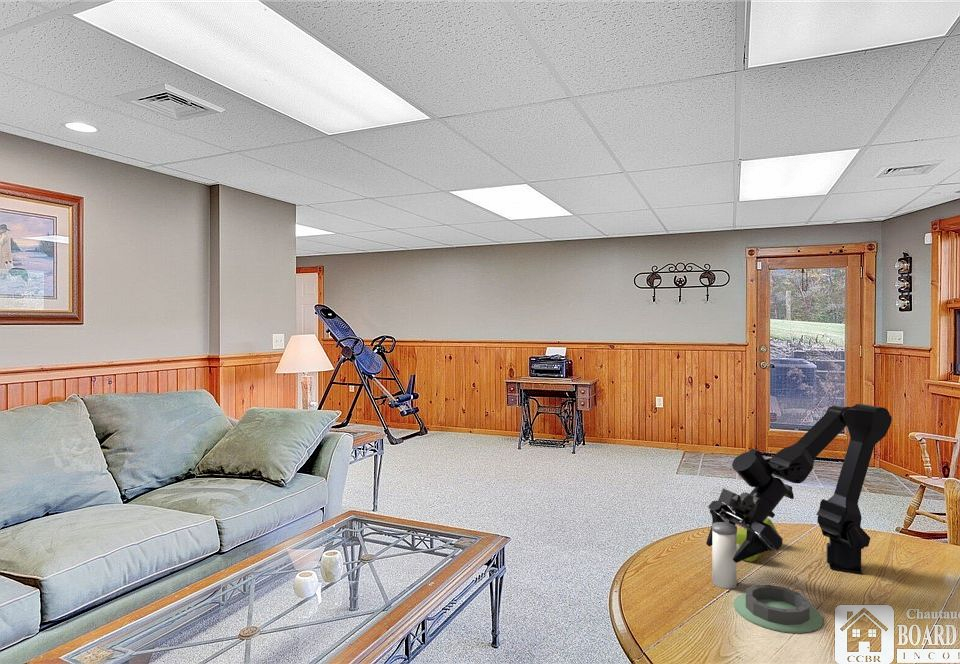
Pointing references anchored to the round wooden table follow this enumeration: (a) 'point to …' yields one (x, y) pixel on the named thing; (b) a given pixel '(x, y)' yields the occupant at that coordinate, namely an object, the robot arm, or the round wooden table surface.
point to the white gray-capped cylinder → (724, 555)
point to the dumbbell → (742, 536)
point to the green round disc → (778, 609)
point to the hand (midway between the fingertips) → (720, 552)
